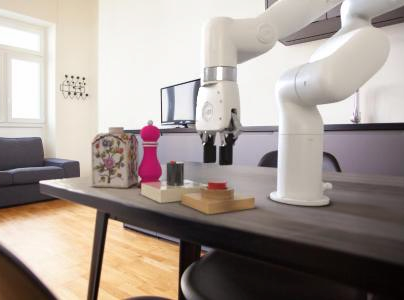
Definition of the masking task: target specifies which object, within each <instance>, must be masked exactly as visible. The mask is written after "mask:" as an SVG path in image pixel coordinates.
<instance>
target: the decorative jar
mask: <svg viewBox="0 0 404 300" xmlns="http://www.w3.org/2000/svg"><path fill="white" fill-rule="evenodd" d="M90 145H91V148H90V149H91V151H90V154H91V157H90V158H91V159H90V160H91V163H90V164H91V186H92V187H94V188H116V189H128V188H130V187H132V186H133V185H135V184H137V183H139V178H140V176H139V175H138V169H139V166H140V163H139V161H140V159H139V140H138V138H137V136H136V134H135V133H132V132H125V127H124V126H109V127H108V131H107V132H104V133H103V132H100V133H96V135H95V136H94V137H93V139H92V141H91V142H90Z"/></svg>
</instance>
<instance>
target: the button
mask: <svg viewBox="0 0 404 300" xmlns="http://www.w3.org/2000/svg"><path fill="white" fill-rule="evenodd" d="M227 183H228V182H227V180H226V181H225V180H220V179H219V180H218V179H211V180H208V181H207V185H208V189H215V190H224V189H227V186H228V184H227Z"/></svg>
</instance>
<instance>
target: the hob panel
mask: <svg viewBox="0 0 404 300" xmlns="http://www.w3.org/2000/svg"><path fill="white" fill-rule="evenodd" d="M206 185H207V184H205V183H201V182H197V181H194V180H189V179H184V185H179V186H173V185H167V180H166V181H160V182H150V183H141V187H140V189H141V191H140V194H141V196H144V197H147V198H149V199H151V200H153V201H156V202H157V203H159V204H163V203H164V204H165V203H173V202H182V194H188V193H199V192H201V187H202V186H206Z"/></svg>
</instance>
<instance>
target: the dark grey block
mask: <svg viewBox="0 0 404 300" xmlns="http://www.w3.org/2000/svg"><path fill="white" fill-rule="evenodd" d="M184 180H185V162H183V161H176V160H170V161H167V162H166V181H167V185H173V186H179V185H184Z"/></svg>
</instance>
